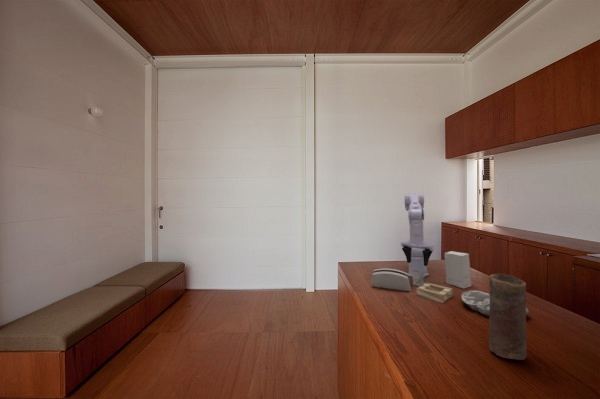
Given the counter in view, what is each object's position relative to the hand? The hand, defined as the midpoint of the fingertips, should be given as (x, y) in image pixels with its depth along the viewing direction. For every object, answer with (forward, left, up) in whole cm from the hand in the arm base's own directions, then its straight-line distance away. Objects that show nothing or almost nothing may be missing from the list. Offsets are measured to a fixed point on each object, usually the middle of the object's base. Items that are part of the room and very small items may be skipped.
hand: (417, 263), depth 112 cm
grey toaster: (+12, -7, -10) cm, 17 cm away
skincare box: (-13, +12, -10) cm, 21 cm away
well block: (+7, +10, -10) cm, 16 cm away
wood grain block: (-1, 0, -10) cm, 10 cm away
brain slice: (+5, +28, -11) cm, 30 cm away
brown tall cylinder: (+32, +38, -10) cm, 51 cm away
